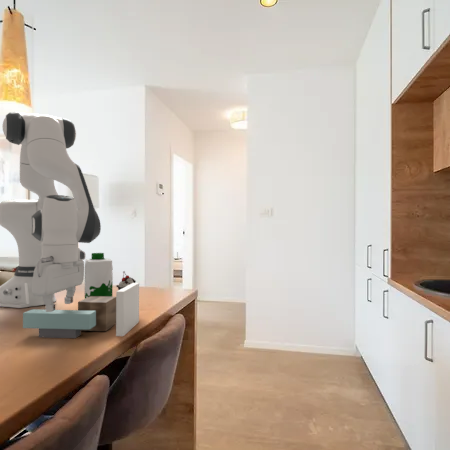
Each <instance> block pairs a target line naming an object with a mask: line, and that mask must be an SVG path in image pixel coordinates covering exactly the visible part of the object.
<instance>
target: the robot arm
mask: <svg viewBox="0 0 450 450" xmlns="http://www.w3.org/2000/svg"><path fill="white" fill-rule="evenodd" d="M2 131H3V135H4V137H5V139H6V140H7V141H8V142H9V143H11V144H14V145H18V146H19V145H21V147H20V153H19V154H20V155H19V183H20V185H21V186H22V187H23V188H24V189H26V190H28V191H30V192H32V193H34V194H36V195H37V196H38V199H10V200H9V199H8V200H3V201H1V202H0V226H1V227H2V228H4V229H6V230H7V231H8V232H9V233H10V234H11V235H12V236H13V237H12V238H13V239H14V240H15V242H16V245H17V251H18V266H16V267H13V268H12V270H11V272H12V273H13V272H14V274H13V275H14V276H12V277H10V278H9V279H8V280H6V282H4V283H3V284H1V285H0V307H5V308H13V309H14V308H16V309H24V308H28V307H29V308H30V307H37V306H42V305H43V306H44V305H45V310H46V312H52V311H54V310H56V303H55V302H56V301H57V298H56V295H55V294H57V293H59V292H62V291H66V294H65V297H64V304H66V305H70V304H72V303H74V296H75V293H76V289H77V288H76V287H77V286H80V285H82V284H83V282H84V280H85V262H84V260H86V252H85V251H83V249H80V248H79V243H82V244H83V243H84V244H90V243H92V242H94V240H96V239H97V238H98V237H99V235H101V227H102V225H101V221H100V217H99V215H98V213H97V210H96V209H95V206H94V203H93V201H92V197H91V193H90V191H89V188H88V185H87V183H86V180H85V176H84V174H83V171H82V168H81V167H80V166H79V165H78V164H77V163H75V162H74V161H73V160H72V158H71V157H70V156H69V154H68V151H67V149H70V148H71V147H72V146H74V144H75V141H76V139H77V138H76V137H77V131H76V127H75V124H74V123H73V121H72V120H70V119H67V118H65V117H57V116H53V115H49V114H43V113H42V114H39V113H30V112H29V113H26V112H20V111H12V112H8V113H7V114H6V115H5V118H4V119H3V121H2ZM55 181H56V182H58V183H60V184H62V185H64V186H66V187H67V188H68V189H70V191H71V193H72V196H69V195H60V194H58V192H57V189H56V187H55Z"/></svg>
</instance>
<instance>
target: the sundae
mask: <svg viewBox="0 0 450 450" xmlns="http://www.w3.org/2000/svg"><path fill="white" fill-rule="evenodd" d="M122 273H123V275H122V278H121V281H120V282H119V283H118V284H117V285H115V287H116V288H117V291H118V290H120V289H122V288H124V287H126V286H128V285H130V284H132V283H137V281H136V280H135V279H134V278H133V277H130V276H129V275H127V274H126V271H125V270H124V271H122ZM124 276H125V277H124Z"/></svg>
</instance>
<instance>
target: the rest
mask: <svg viewBox="0 0 450 450" xmlns="http://www.w3.org/2000/svg"><path fill="white" fill-rule="evenodd" d="M81 333H82V331H81V329H41V328H38V338H52V339H54V338H55V339H57V338H58V339H59V338H60V339H76V338H78V337H79V336H81Z"/></svg>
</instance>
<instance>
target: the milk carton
mask: <svg viewBox="0 0 450 450" xmlns="http://www.w3.org/2000/svg"><path fill="white" fill-rule="evenodd" d="M113 268H114V267H113V260H112V259H110V258H105V253H104V252H92V253H91V258H88V259H86V258H85V262H84V299H86V298H88V297H90V296H109V297H113V278H114V277H113V273H114V272H113Z"/></svg>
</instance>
